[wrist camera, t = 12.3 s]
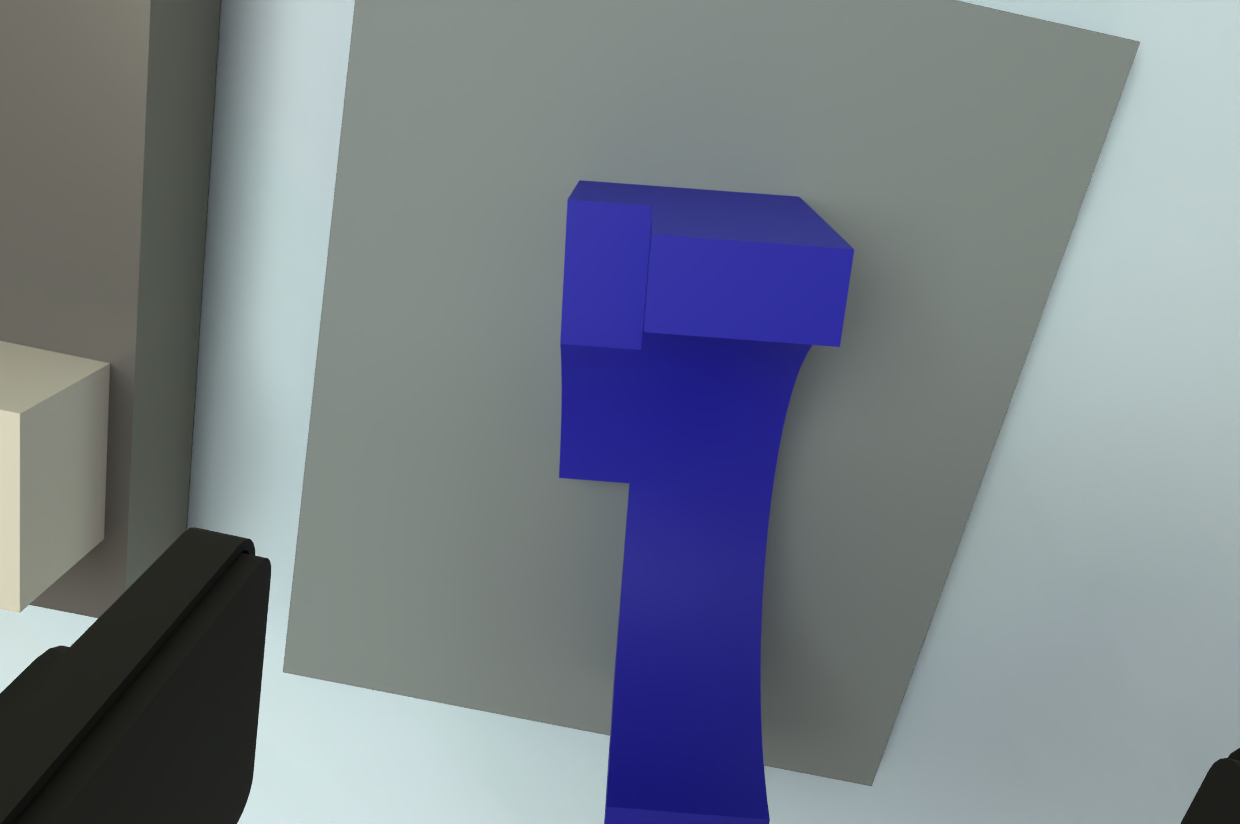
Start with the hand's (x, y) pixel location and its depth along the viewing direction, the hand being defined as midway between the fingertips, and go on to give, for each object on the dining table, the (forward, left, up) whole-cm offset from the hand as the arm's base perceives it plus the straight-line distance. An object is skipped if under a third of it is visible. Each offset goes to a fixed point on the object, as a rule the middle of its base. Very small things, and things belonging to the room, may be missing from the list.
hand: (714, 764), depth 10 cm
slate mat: (0, +1, -14) cm, 14 cm away
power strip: (+13, 0, -14) cm, 19 cm away
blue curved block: (0, +2, -13) cm, 13 cm away
